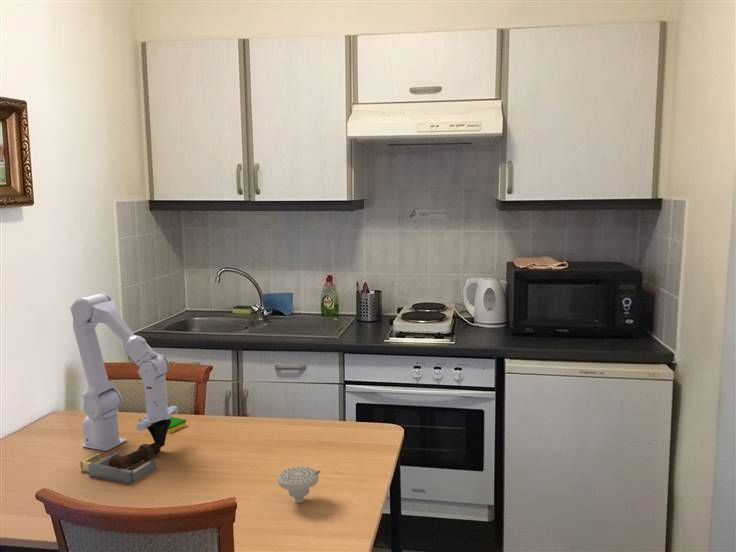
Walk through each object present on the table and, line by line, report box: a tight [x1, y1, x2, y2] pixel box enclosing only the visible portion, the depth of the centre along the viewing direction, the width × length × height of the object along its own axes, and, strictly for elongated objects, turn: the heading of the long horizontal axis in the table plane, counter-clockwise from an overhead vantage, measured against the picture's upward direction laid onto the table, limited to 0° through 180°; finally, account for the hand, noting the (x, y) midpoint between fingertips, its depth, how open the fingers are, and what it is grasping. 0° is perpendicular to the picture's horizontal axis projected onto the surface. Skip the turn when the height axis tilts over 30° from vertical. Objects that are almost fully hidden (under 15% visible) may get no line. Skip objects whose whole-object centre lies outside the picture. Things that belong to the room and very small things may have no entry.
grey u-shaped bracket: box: [88, 452, 157, 486], centre depth 171 cm, size 14×10×3 cm
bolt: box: [109, 441, 162, 470], centre depth 176 cm, size 6×5×15 cm
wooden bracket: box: [79, 452, 111, 473], centre depth 175 cm, size 5×6×2 cm
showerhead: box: [277, 466, 322, 504], centre depth 153 cm, size 9×7×10 cm
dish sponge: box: [138, 416, 187, 434], centre depth 204 cm, size 7×14×2 cm, turn 60°
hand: (160, 445), depth 184 cm, fingers closed
